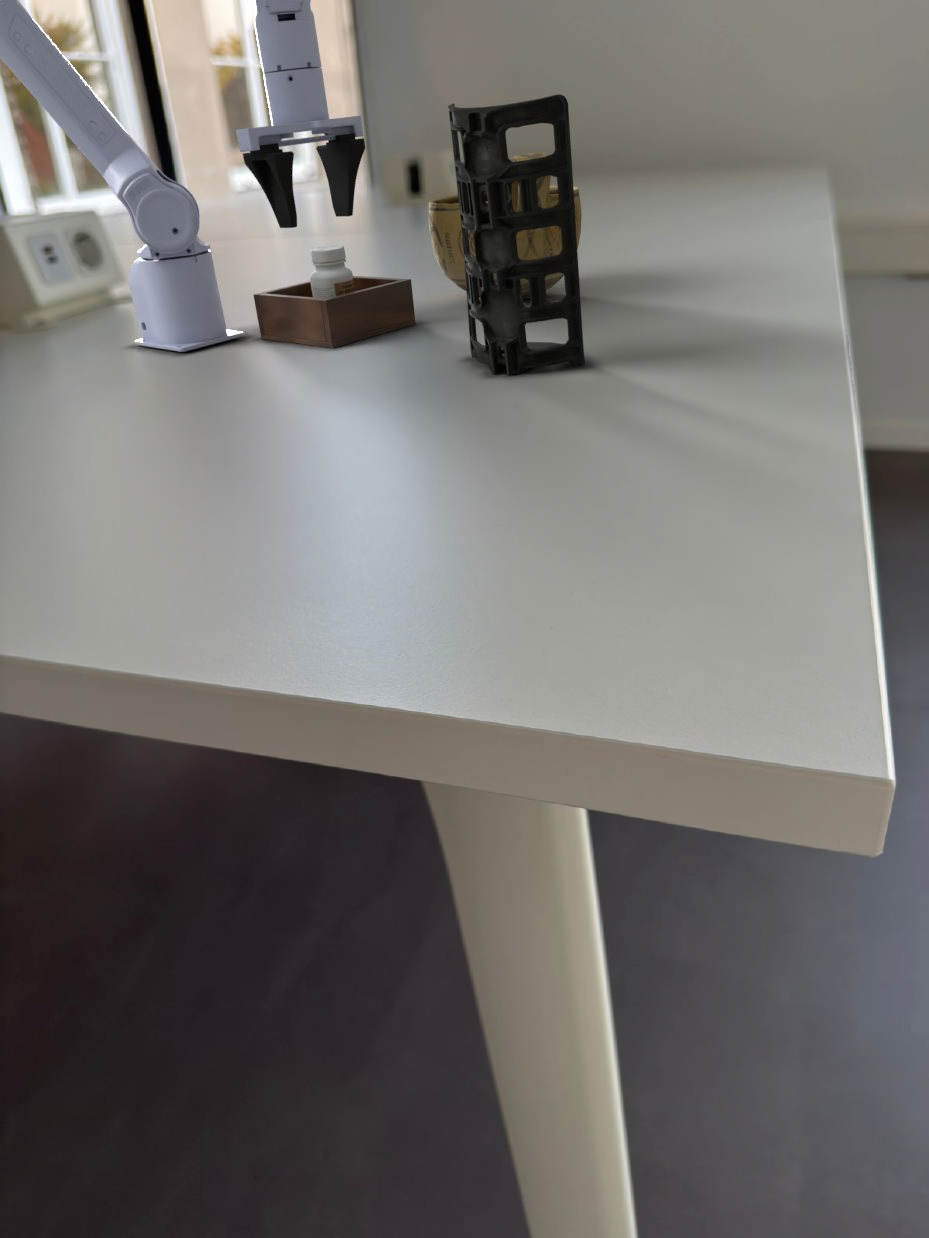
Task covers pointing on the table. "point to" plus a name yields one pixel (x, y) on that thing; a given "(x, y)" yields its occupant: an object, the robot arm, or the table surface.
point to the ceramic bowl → (529, 242)
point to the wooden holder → (335, 312)
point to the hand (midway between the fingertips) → (317, 221)
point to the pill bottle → (330, 273)
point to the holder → (500, 226)
